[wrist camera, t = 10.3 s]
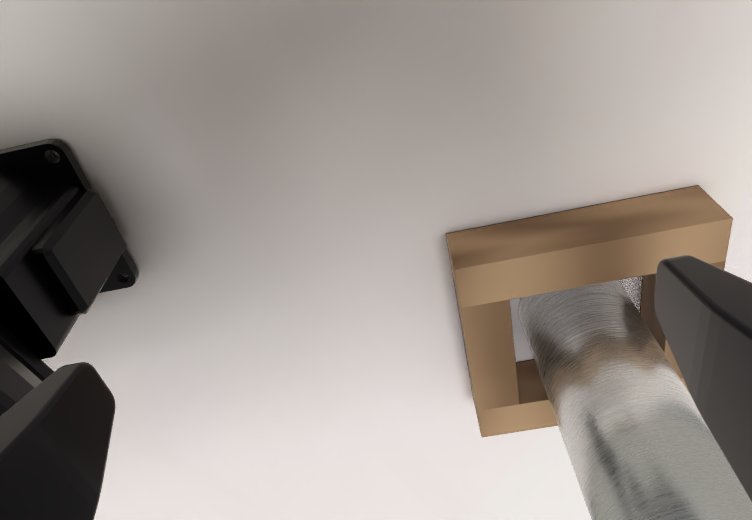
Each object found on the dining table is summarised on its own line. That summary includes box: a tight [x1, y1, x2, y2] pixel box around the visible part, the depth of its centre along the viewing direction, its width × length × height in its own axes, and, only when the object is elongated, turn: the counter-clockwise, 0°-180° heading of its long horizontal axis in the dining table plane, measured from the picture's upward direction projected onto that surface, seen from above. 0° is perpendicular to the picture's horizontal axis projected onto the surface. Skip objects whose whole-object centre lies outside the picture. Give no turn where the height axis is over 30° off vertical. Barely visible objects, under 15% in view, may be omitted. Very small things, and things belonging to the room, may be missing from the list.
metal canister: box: [519, 280, 752, 520], centre depth 20 cm, size 5×5×13 cm
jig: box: [446, 186, 733, 437], centre depth 25 cm, size 10×10×2 cm
